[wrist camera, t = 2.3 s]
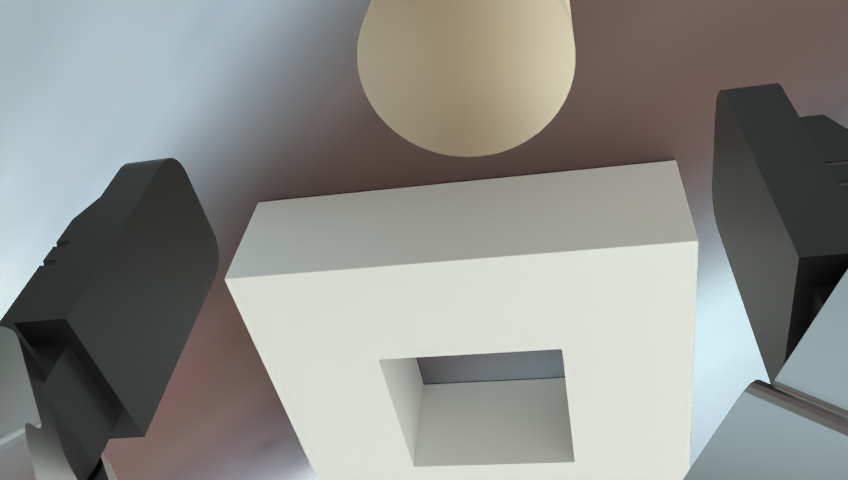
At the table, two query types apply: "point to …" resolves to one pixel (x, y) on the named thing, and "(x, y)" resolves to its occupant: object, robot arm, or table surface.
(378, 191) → the socket
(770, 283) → the robot arm
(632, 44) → the table surface
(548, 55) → the cream ribbed cylinder
